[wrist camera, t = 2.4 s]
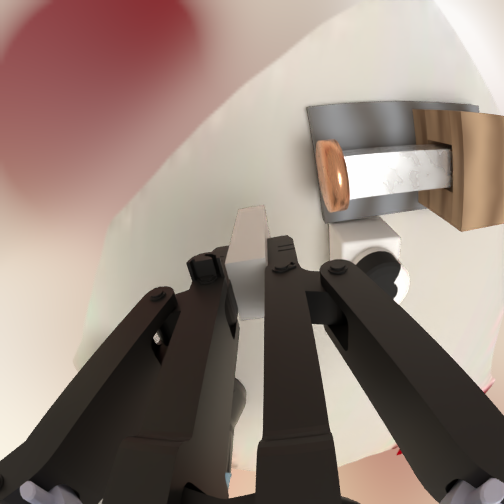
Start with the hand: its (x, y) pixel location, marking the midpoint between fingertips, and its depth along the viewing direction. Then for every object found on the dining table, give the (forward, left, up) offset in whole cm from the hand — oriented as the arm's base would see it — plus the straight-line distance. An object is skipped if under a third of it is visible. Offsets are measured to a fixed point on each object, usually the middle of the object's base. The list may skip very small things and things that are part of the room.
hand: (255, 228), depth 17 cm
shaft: (+15, 0, -15) cm, 21 cm away
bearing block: (+19, 0, -18) cm, 27 cm away
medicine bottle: (+11, -11, -19) cm, 24 cm away
